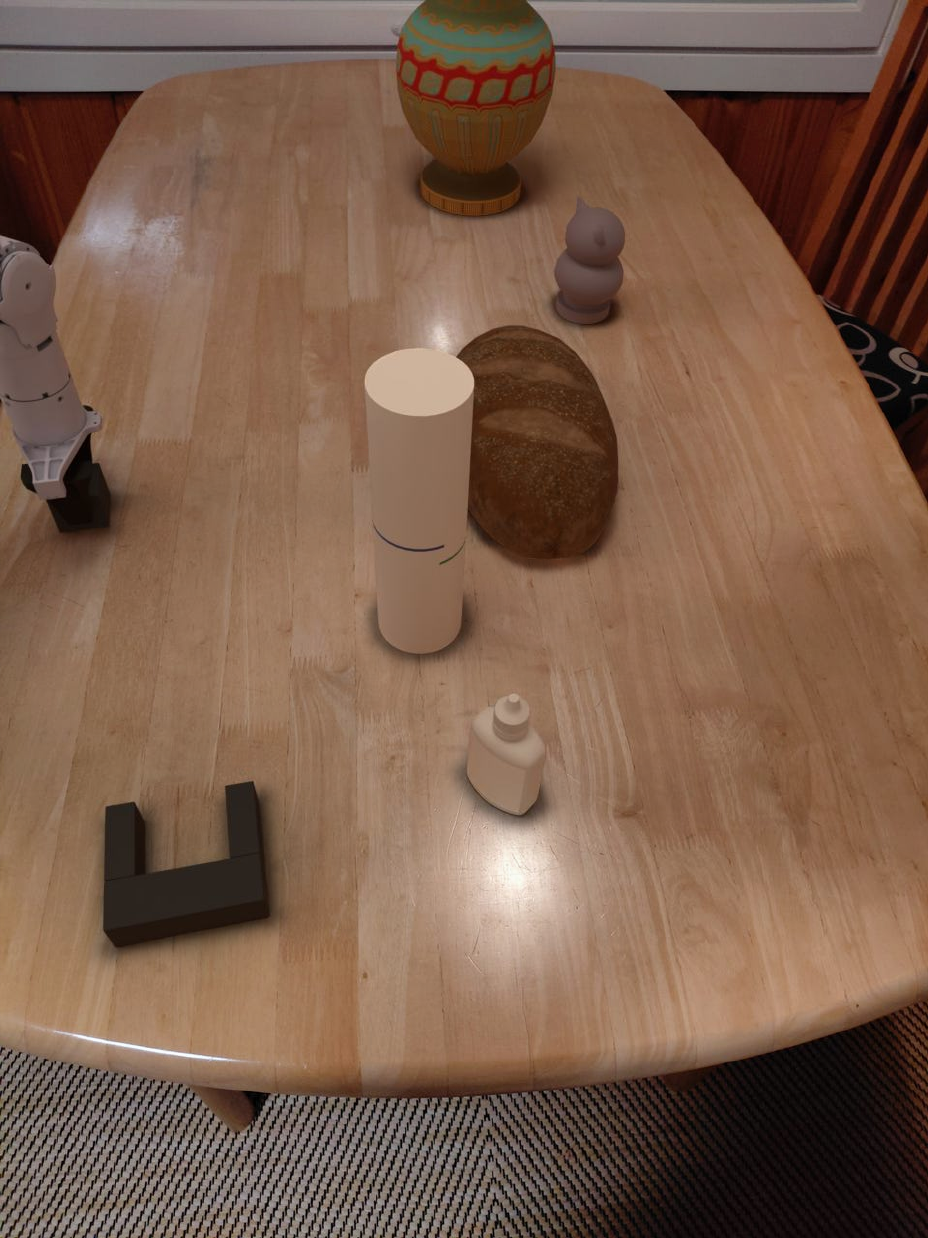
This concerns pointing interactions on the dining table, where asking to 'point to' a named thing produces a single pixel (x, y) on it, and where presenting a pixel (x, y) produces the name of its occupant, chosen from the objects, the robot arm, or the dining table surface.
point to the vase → (474, 96)
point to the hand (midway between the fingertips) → (81, 502)
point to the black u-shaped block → (183, 877)
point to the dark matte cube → (99, 505)
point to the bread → (538, 444)
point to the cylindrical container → (419, 493)
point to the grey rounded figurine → (589, 265)
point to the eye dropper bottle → (506, 755)
